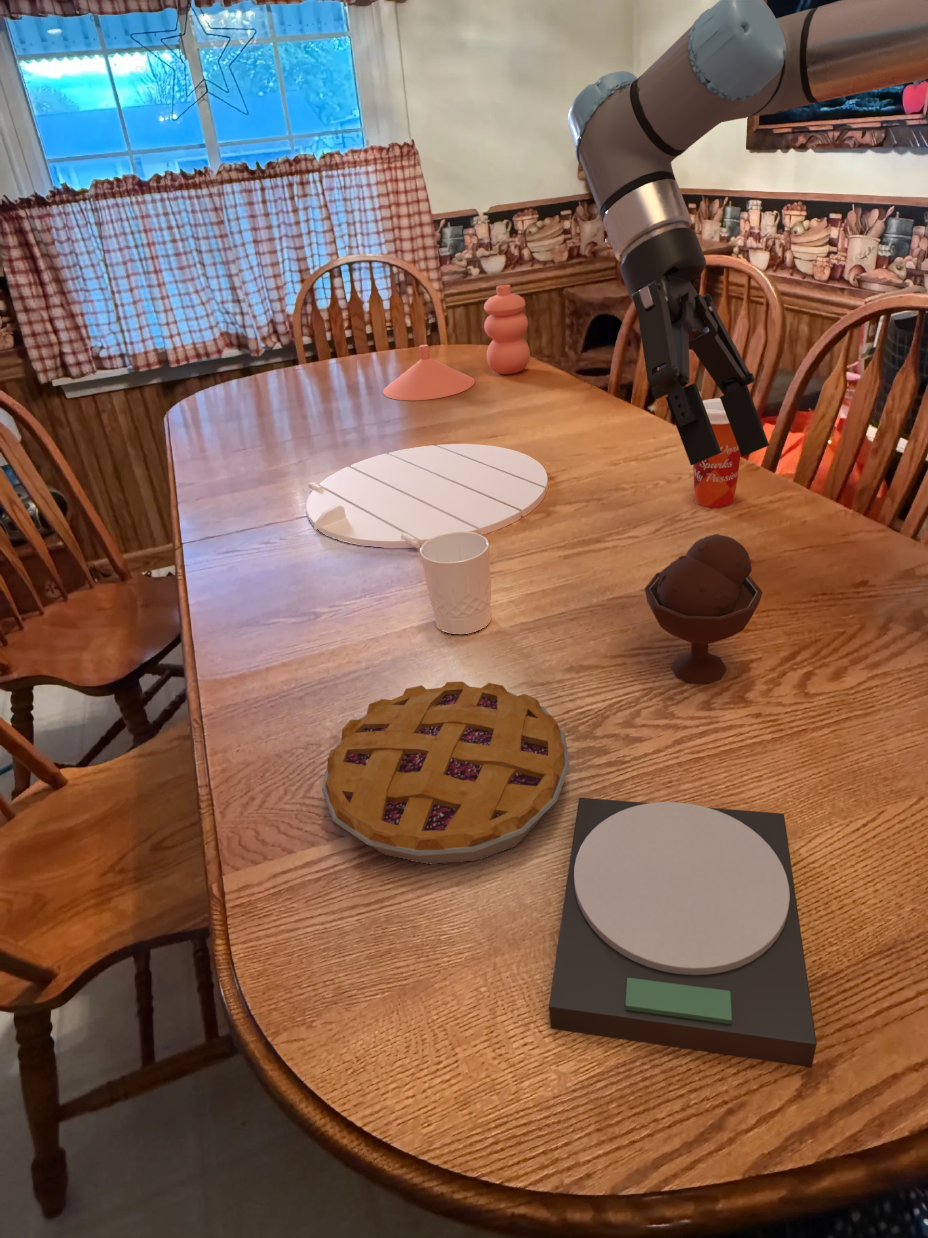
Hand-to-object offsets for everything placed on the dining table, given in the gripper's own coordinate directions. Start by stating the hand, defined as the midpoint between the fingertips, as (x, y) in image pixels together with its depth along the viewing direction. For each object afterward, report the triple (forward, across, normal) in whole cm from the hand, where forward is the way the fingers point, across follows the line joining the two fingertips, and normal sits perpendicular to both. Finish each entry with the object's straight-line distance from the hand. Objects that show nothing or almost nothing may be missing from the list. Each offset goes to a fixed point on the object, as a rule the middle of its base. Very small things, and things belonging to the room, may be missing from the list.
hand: (732, 455), depth 78 cm
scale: (+32, +28, -6) cm, 43 cm away
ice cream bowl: (+19, -1, -11) cm, 22 cm away
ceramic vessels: (-47, -78, -79) cm, 121 cm away
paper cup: (+2, -39, -18) cm, 43 cm away
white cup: (+6, +3, -36) cm, 37 cm away
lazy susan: (-16, -24, -57) cm, 64 cm away
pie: (+20, +26, -26) cm, 41 cm away
